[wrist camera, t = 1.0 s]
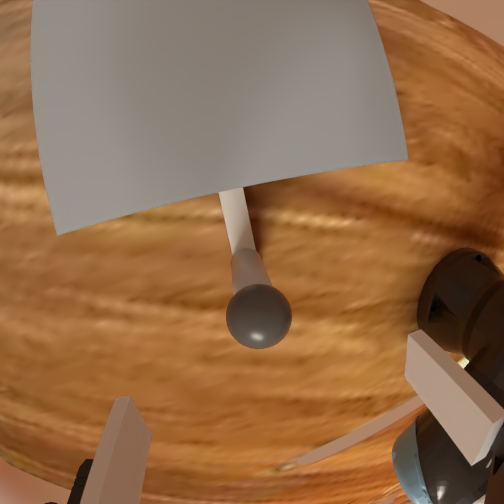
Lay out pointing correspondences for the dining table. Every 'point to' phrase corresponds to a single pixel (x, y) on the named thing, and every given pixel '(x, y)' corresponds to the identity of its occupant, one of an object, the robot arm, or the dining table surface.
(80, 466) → the robot arm
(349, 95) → the tunnel
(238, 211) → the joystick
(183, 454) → the dining table surface
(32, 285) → the dining table surface
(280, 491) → the dining table surface
